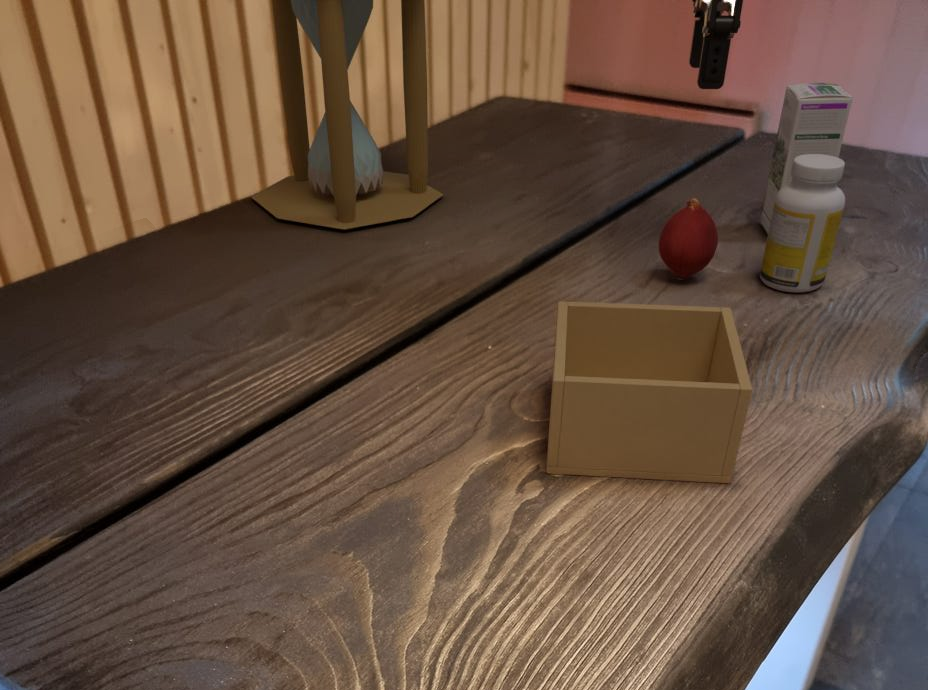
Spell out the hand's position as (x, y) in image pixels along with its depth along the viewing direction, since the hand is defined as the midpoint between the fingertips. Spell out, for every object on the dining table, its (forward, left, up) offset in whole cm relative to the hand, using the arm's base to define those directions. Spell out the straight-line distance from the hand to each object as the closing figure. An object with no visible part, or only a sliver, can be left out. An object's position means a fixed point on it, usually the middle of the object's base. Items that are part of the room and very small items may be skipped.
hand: (704, 77), depth 84 cm
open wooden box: (+5, +31, -19) cm, 37 cm away
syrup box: (-14, -16, -19) cm, 28 cm away
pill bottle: (-12, -1, -19) cm, 22 cm away
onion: (-1, -1, -19) cm, 19 cm away
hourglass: (+39, -23, -19) cm, 49 cm away
